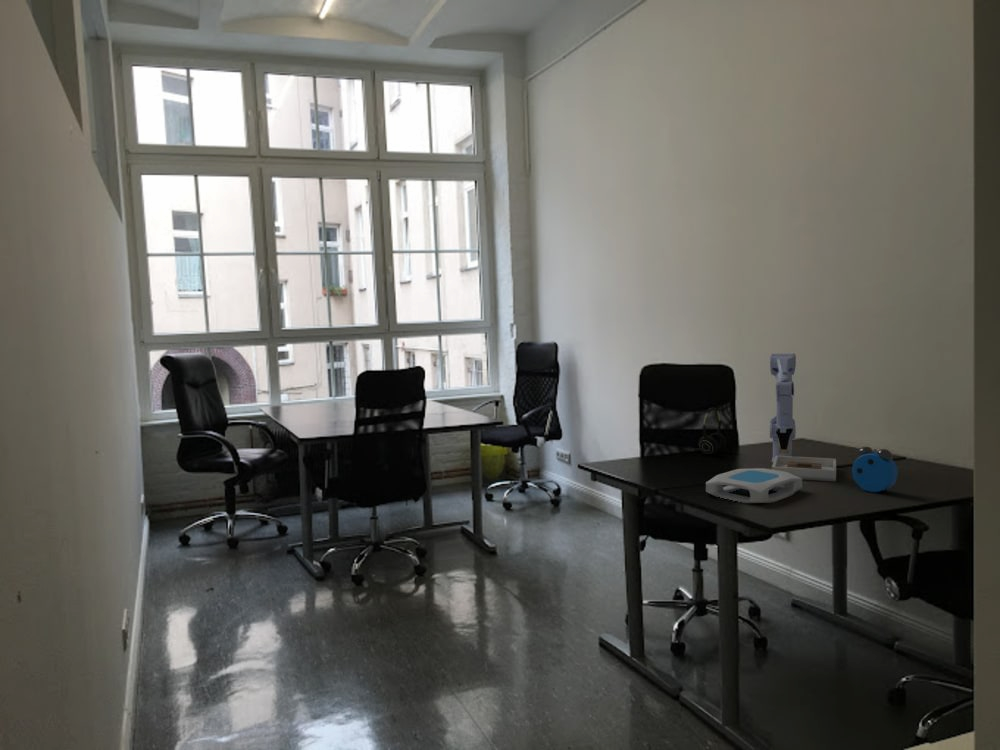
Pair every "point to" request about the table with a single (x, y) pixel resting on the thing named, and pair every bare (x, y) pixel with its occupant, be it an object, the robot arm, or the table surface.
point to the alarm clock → (874, 470)
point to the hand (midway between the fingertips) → (784, 448)
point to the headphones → (712, 438)
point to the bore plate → (804, 465)
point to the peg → (784, 450)
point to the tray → (807, 474)
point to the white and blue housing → (754, 485)
